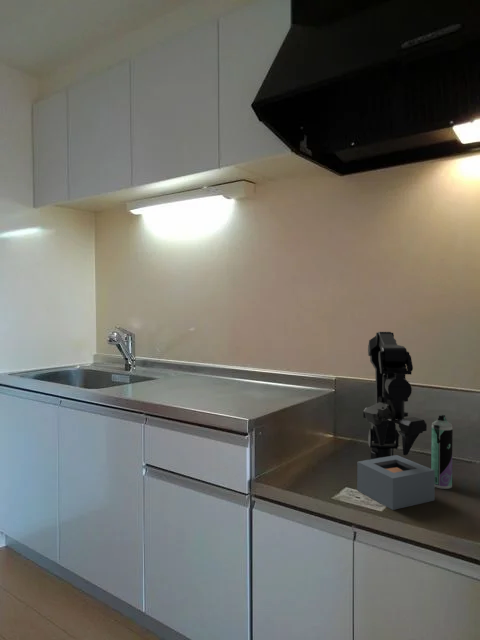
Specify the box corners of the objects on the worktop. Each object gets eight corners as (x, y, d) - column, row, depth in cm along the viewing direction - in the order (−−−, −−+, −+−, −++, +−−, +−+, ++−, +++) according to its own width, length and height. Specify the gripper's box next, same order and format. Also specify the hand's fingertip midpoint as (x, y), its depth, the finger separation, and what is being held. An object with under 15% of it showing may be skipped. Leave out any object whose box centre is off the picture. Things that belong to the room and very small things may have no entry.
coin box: (396, 482, 137) (396, 454, 137) (434, 500, 125) (434, 470, 124) (357, 490, 132) (357, 461, 132) (392, 510, 119) (392, 478, 119)
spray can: (450, 490, 131) (451, 418, 131) (429, 486, 134) (430, 416, 134) (453, 484, 136) (454, 414, 135) (433, 480, 139) (433, 412, 138)
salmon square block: (397, 478, 131) (397, 467, 131) (408, 484, 126) (408, 473, 126) (381, 480, 130) (381, 469, 130) (391, 486, 125) (391, 475, 125)
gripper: (348, 389, 134) (347, 444, 135) (394, 402, 117) (394, 465, 118) (379, 386, 139) (379, 439, 140) (428, 398, 122) (427, 458, 123)
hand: (393, 450), depth 130 cm, fingers open, 9 cm apart
